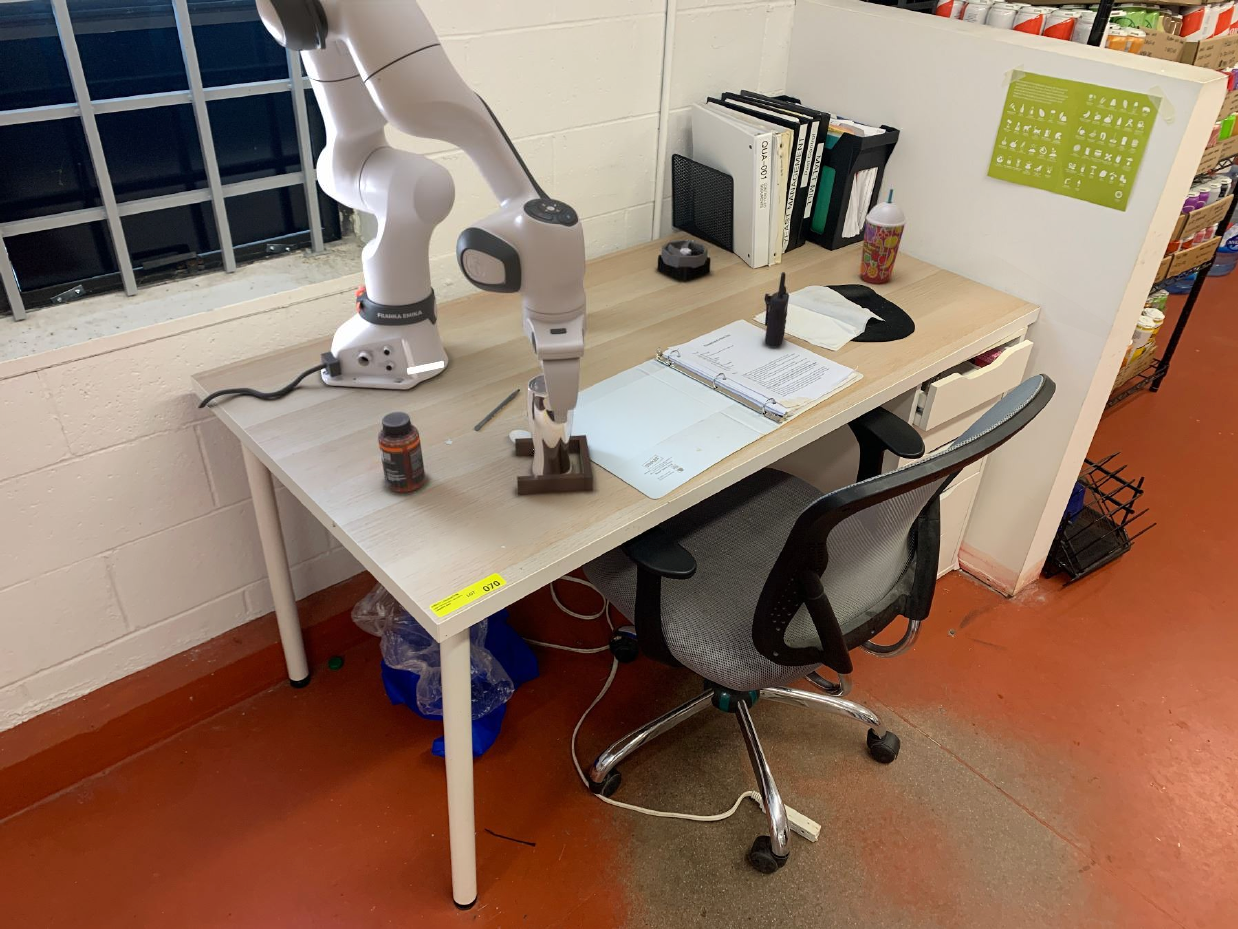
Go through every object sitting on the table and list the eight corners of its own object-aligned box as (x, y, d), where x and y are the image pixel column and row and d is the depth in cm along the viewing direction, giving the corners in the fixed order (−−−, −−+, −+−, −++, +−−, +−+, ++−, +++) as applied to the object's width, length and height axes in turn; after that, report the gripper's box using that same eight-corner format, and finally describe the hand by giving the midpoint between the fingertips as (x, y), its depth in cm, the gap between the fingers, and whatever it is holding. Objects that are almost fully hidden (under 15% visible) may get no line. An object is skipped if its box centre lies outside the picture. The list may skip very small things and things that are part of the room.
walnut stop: (517, 494, 135) (517, 481, 134) (515, 451, 144) (515, 438, 143) (592, 490, 136) (592, 476, 135) (586, 447, 146) (586, 434, 144)
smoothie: (848, 273, 205) (864, 184, 194) (881, 269, 207) (898, 181, 196) (867, 287, 199) (884, 197, 187) (901, 283, 201) (920, 194, 189)
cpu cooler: (683, 260, 195) (652, 245, 201) (681, 284, 198) (651, 270, 204) (717, 248, 200) (686, 235, 207) (715, 273, 204) (684, 259, 210)
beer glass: (568, 485, 137) (566, 398, 129) (523, 479, 138) (519, 392, 130) (579, 460, 143) (578, 375, 134) (536, 455, 144) (533, 370, 135)
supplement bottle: (428, 470, 140) (420, 407, 133) (422, 493, 135) (414, 429, 128) (389, 470, 139) (379, 407, 133) (382, 494, 135) (371, 429, 128)
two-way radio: (779, 350, 174) (789, 276, 165) (756, 346, 175) (765, 273, 167) (785, 337, 178) (794, 265, 170) (762, 334, 179) (771, 262, 171)
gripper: (526, 288, 134) (530, 370, 142) (537, 355, 118) (541, 443, 126) (568, 286, 135) (570, 367, 143) (585, 352, 119) (587, 439, 127)
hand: (557, 403), depth 135 cm, fingers open, 8 cm apart
